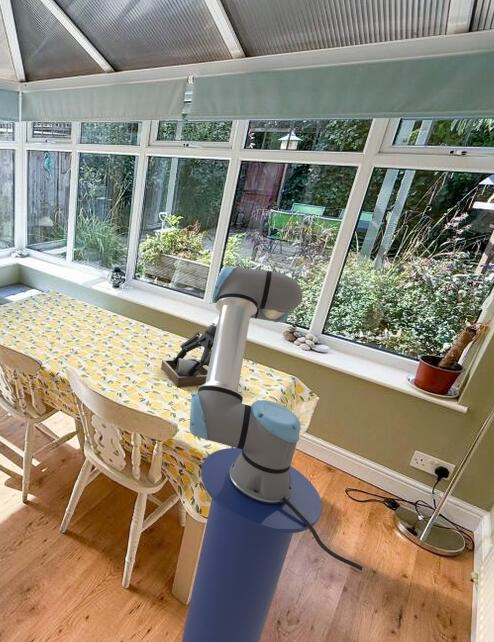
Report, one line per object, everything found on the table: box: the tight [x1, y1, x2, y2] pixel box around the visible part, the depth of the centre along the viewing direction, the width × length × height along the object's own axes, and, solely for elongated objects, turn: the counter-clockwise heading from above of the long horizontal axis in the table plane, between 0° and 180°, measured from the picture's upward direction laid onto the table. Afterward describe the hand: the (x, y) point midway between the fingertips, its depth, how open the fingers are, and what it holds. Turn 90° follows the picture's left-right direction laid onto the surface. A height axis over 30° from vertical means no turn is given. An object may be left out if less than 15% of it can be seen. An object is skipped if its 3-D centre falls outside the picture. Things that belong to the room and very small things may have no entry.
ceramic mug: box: [175, 358, 199, 377], centre depth 174 cm, size 11×8×8 cm
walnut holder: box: [160, 357, 208, 388], centre depth 174 cm, size 16×16×5 cm
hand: (181, 368), depth 172 cm, fingers closed on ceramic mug, 10 cm apart
